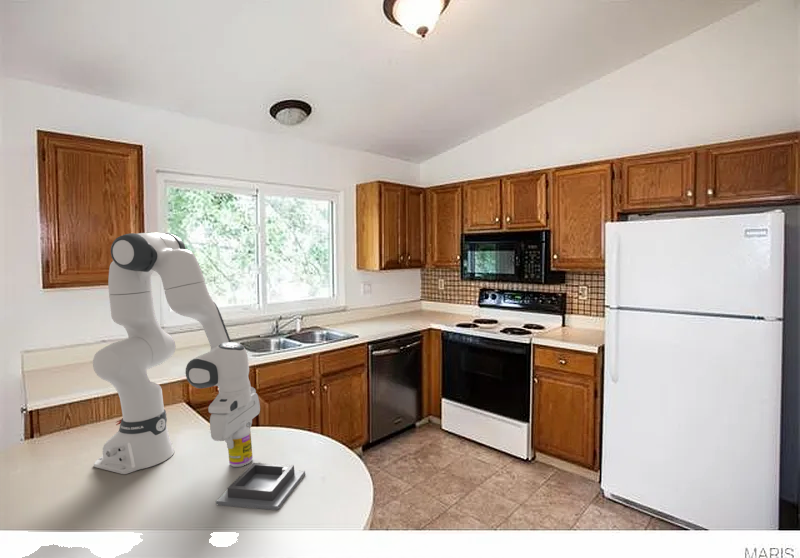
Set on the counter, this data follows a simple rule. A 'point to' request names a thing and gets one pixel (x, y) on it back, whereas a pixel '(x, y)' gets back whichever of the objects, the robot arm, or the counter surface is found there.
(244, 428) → the supplement bottle
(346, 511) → the counter surface
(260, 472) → the pocket plate
